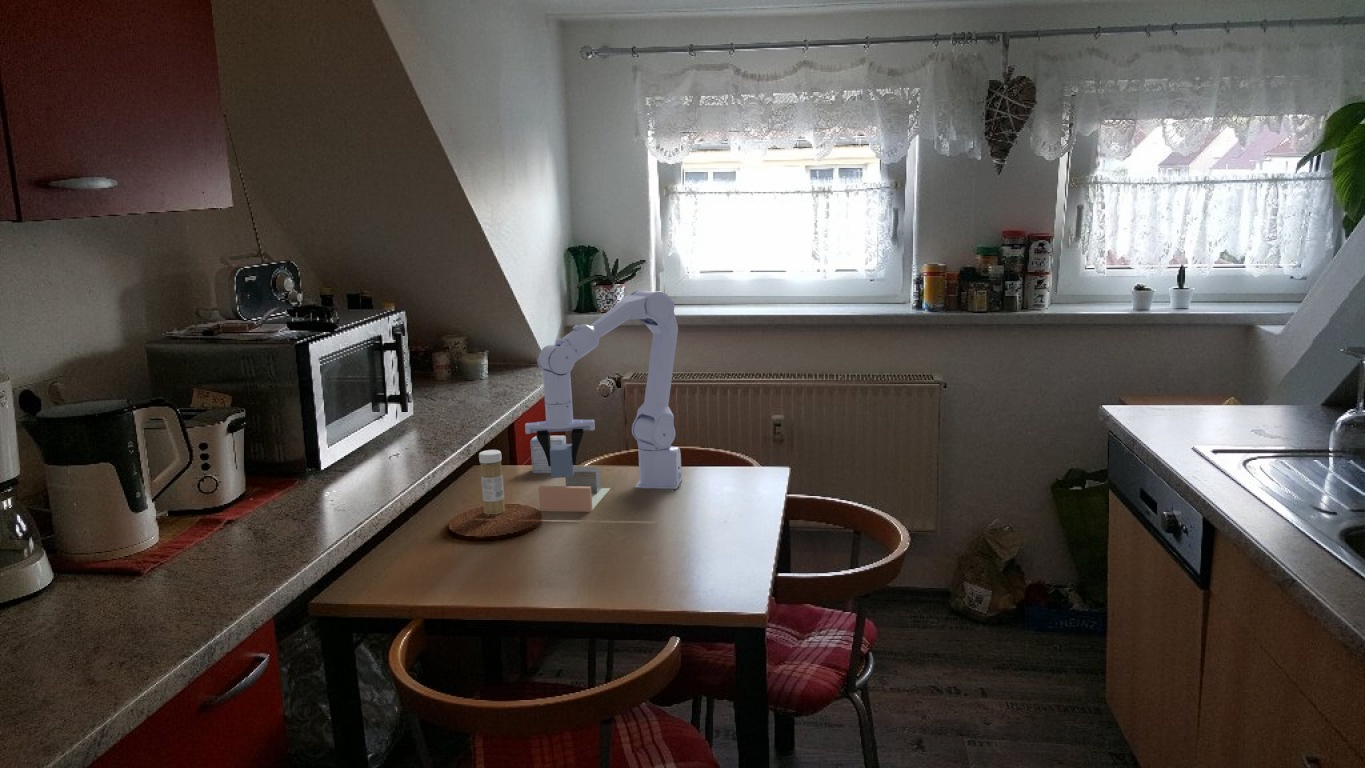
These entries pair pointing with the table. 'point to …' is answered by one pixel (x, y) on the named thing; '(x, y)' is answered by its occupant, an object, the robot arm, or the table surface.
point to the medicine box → (543, 454)
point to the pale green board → (569, 498)
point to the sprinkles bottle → (492, 481)
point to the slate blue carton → (561, 461)
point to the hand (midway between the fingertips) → (562, 464)
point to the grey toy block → (586, 478)
